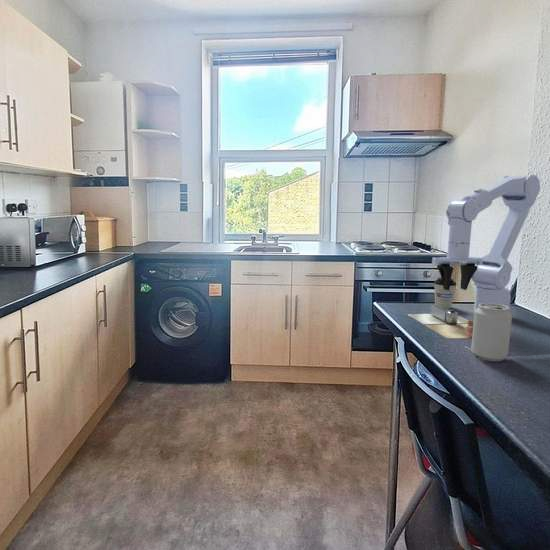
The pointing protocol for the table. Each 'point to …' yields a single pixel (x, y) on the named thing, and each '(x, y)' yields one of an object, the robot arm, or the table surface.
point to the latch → (444, 314)
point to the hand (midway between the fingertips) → (454, 289)
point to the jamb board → (446, 326)
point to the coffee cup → (444, 293)
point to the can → (491, 331)
